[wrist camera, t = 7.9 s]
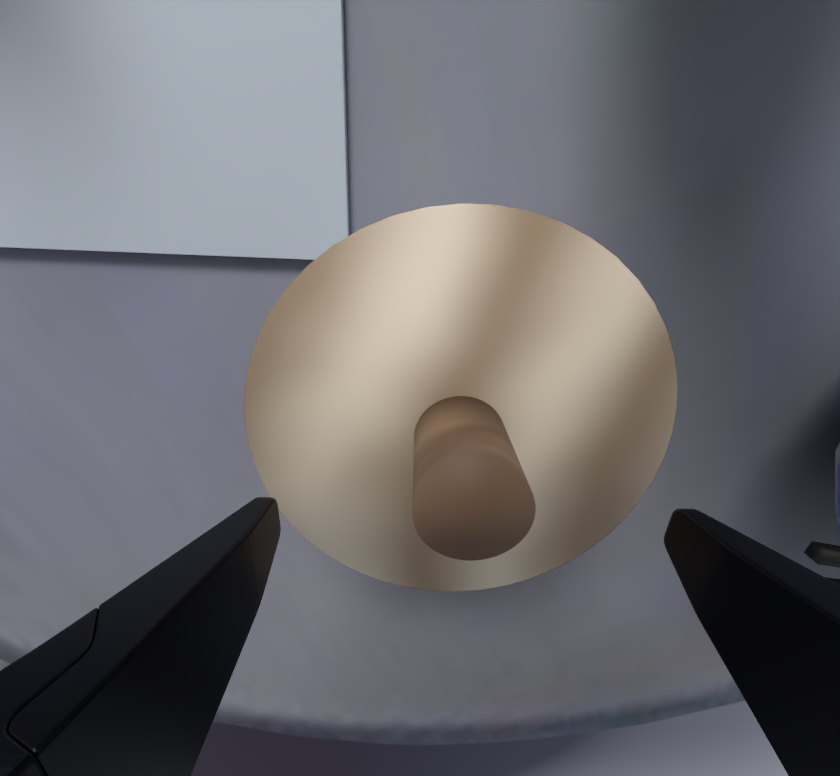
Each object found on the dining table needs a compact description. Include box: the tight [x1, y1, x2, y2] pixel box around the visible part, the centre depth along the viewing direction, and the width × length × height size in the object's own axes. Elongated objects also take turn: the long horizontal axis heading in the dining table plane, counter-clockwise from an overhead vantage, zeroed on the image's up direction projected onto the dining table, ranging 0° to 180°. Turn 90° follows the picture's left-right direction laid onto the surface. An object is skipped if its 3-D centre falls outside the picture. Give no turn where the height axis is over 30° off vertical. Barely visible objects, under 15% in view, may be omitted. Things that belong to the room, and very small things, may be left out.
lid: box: [244, 204, 677, 591], centre depth 13 cm, size 15×15×5 cm
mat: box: [0, 0, 350, 260], centre depth 16 cm, size 18×14×1 cm
